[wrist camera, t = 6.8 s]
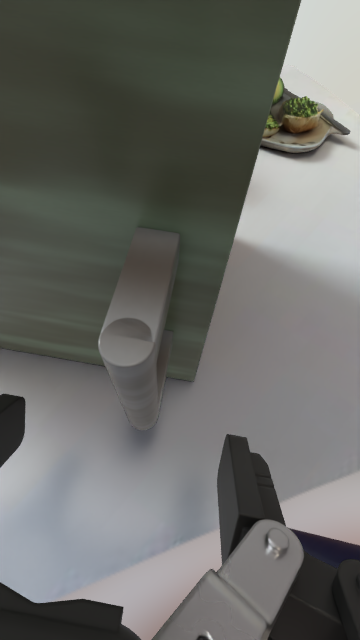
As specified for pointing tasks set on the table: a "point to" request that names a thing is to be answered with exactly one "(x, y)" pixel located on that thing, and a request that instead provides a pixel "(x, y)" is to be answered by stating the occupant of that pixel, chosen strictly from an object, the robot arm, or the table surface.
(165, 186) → the cupboard door
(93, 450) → the table surface
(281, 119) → the salad plate
